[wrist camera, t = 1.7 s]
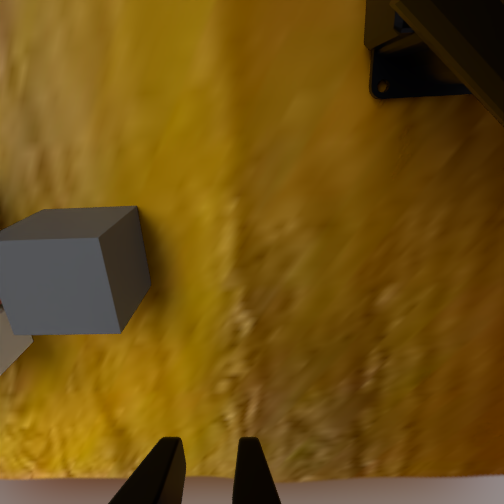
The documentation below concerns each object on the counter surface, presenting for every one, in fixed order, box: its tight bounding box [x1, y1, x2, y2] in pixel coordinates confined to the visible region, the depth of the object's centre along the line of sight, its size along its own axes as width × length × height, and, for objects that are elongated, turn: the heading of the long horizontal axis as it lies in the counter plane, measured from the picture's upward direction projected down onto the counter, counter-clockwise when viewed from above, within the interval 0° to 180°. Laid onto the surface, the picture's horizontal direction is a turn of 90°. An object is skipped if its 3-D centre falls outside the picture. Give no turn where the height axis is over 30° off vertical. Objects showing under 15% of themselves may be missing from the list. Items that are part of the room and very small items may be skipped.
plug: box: [0, 206, 151, 335], centre depth 17 cm, size 6×5×5 cm
